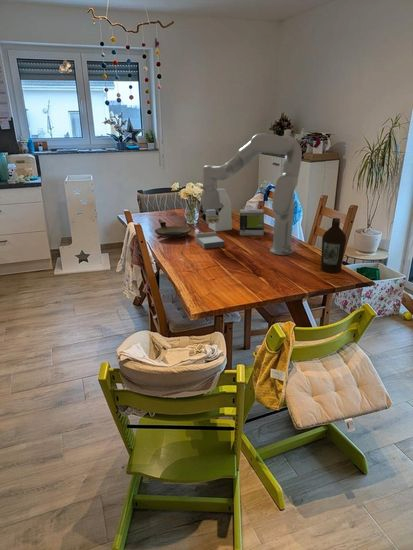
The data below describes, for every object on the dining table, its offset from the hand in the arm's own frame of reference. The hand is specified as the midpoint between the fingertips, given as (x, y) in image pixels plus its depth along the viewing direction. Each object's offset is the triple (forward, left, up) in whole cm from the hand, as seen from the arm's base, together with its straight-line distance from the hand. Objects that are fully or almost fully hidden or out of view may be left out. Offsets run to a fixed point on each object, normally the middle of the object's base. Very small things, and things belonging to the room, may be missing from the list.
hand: (210, 219), depth 223 cm
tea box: (+13, -32, -15) cm, 38 cm away
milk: (+32, -18, -15) cm, 40 cm away
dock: (+1, 0, -15) cm, 15 cm away
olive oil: (-59, -40, -15) cm, 73 cm away
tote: (0, 0, +3) cm, 3 cm away
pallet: (0, 0, -1) cm, 1 cm away
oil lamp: (+26, +16, -15) cm, 34 cm away
